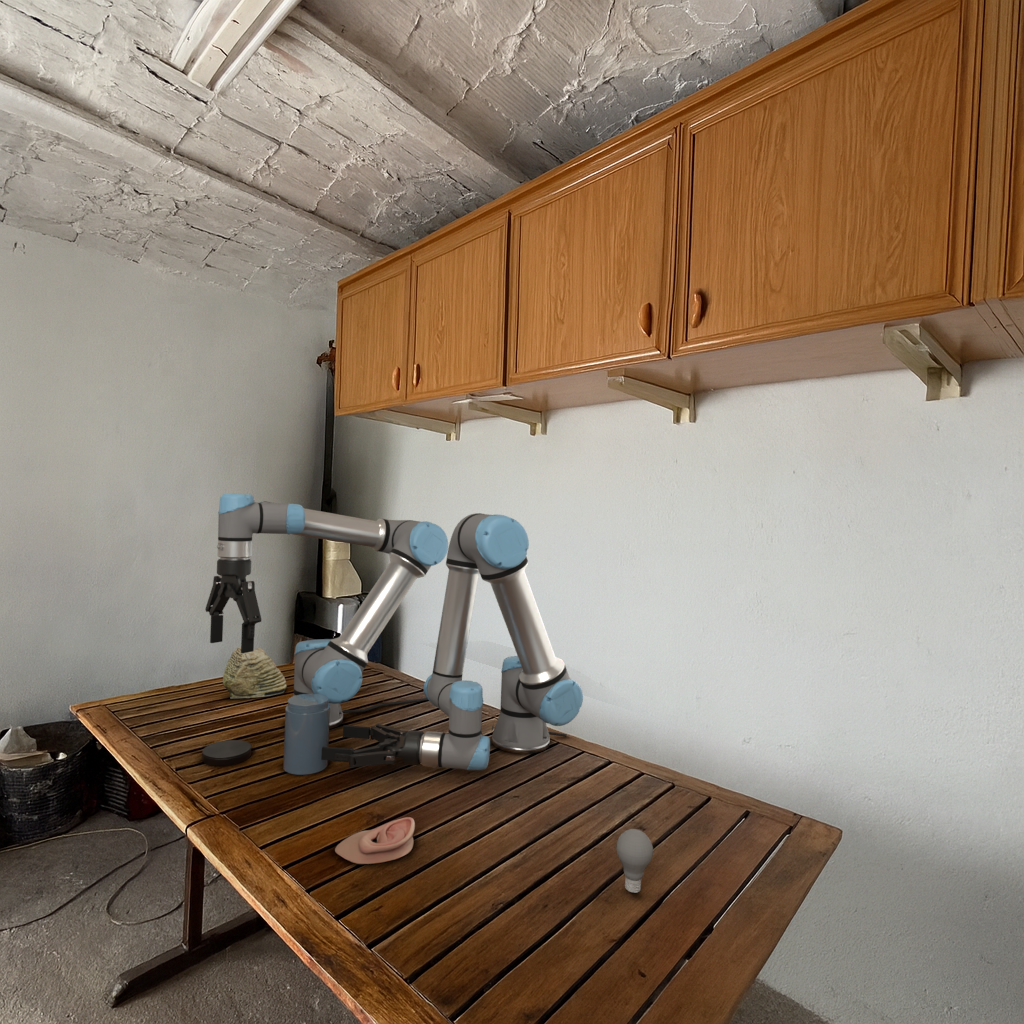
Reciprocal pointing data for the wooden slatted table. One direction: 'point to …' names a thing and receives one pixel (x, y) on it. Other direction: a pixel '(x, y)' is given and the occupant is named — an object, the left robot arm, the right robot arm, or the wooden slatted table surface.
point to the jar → (306, 733)
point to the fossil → (252, 675)
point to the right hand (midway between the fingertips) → (333, 741)
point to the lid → (226, 753)
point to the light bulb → (634, 857)
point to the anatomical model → (379, 843)
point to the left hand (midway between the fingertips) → (231, 647)
